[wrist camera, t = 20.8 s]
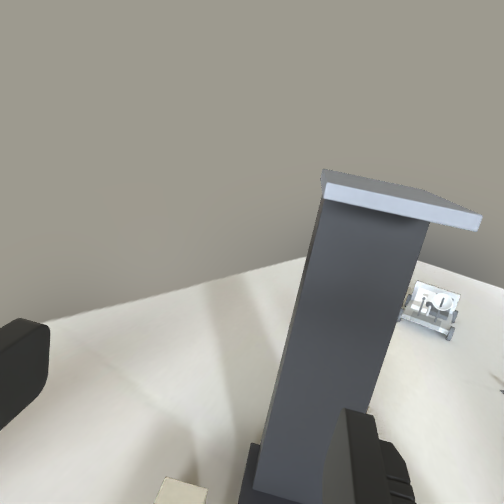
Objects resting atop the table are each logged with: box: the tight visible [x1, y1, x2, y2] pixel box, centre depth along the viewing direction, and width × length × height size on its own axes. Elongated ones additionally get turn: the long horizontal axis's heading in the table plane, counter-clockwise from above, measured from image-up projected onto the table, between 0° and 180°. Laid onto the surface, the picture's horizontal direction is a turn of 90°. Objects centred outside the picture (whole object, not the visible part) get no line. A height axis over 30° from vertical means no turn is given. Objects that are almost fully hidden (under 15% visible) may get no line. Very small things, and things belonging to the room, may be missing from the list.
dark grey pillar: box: [238, 169, 483, 504], centre depth 34 cm, size 10×13×32 cm
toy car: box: [397, 280, 461, 341], centre depth 91 cm, size 18×10×12 cm
